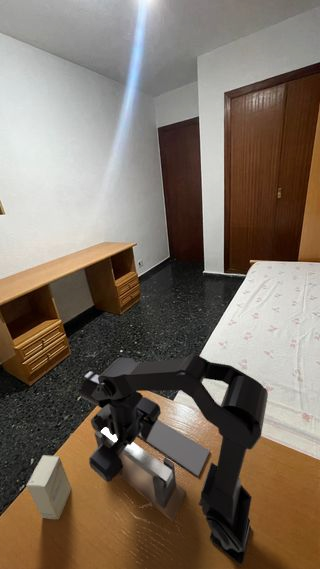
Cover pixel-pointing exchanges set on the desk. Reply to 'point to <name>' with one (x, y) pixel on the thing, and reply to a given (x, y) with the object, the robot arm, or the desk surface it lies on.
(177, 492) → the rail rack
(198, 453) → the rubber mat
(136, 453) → the steel rail
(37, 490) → the skincare box
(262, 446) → the desk surface
